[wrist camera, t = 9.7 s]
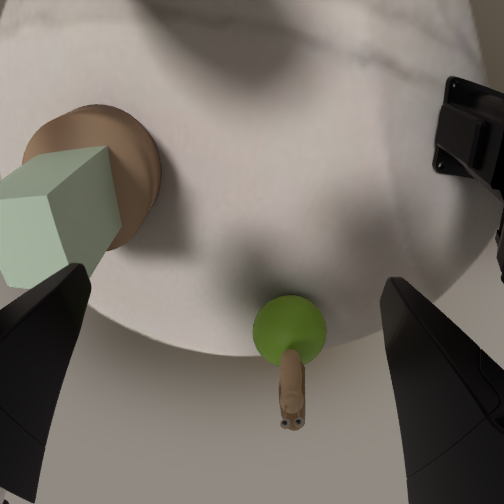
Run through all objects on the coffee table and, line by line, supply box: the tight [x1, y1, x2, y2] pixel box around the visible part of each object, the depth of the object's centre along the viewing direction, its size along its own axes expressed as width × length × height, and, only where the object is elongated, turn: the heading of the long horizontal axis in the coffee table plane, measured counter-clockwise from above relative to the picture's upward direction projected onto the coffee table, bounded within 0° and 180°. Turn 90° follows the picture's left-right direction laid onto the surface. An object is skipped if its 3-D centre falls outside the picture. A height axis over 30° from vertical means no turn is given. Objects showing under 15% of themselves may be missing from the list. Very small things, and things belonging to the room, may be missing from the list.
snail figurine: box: [253, 295, 326, 431], centre depth 20 cm, size 5×6×12 cm
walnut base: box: [22, 104, 161, 251], centre depth 18 cm, size 9×9×3 cm
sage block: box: [0, 146, 122, 289], centre depth 14 cm, size 5×5×6 cm
